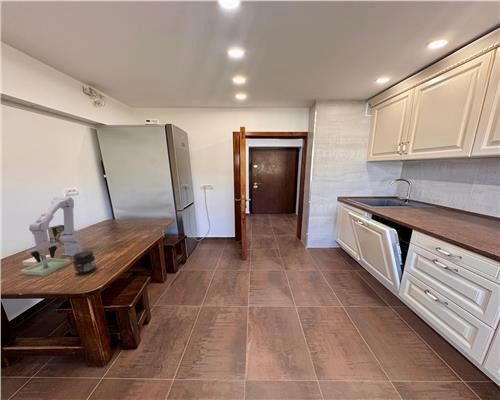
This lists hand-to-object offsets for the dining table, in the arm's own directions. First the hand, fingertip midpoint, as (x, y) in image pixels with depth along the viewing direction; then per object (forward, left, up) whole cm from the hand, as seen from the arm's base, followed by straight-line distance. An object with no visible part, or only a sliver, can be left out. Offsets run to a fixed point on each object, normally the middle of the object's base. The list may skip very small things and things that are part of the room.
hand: (45, 259), depth 121 cm
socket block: (+16, -6, -6) cm, 18 cm away
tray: (0, 0, -6) cm, 6 cm away
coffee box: (+37, -35, -6) cm, 51 cm away
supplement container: (-29, 0, -6) cm, 30 cm away
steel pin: (+1, 0, -5) cm, 5 cm away
